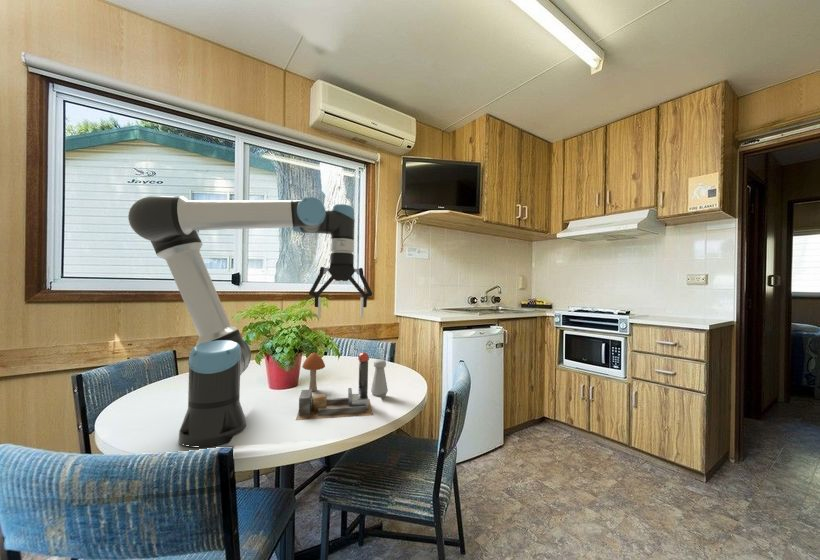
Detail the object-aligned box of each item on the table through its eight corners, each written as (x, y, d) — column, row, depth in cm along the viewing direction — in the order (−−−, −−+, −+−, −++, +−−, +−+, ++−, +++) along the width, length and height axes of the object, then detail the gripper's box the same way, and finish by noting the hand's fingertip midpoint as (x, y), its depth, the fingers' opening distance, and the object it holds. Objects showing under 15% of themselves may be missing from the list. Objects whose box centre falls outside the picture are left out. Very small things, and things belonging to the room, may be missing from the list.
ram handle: (348, 410, 102) (349, 354, 103) (347, 403, 108) (349, 351, 108) (369, 409, 104) (370, 354, 104) (367, 402, 109) (368, 350, 109)
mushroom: (316, 398, 116) (317, 355, 116) (296, 395, 119) (297, 353, 119) (328, 392, 124) (329, 350, 124) (310, 389, 126) (311, 349, 126)
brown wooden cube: (311, 412, 101) (311, 399, 101) (312, 407, 105) (312, 394, 105) (326, 411, 102) (326, 398, 102) (326, 406, 106) (326, 393, 106)
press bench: (295, 424, 95) (296, 402, 95) (300, 406, 109) (301, 387, 109) (373, 419, 100) (374, 398, 100) (369, 402, 114) (369, 384, 114)
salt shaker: (384, 400, 116) (385, 362, 116) (368, 399, 117) (369, 361, 117) (389, 395, 122) (389, 358, 122) (374, 393, 123) (374, 357, 123)
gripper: (301, 250, 105) (299, 318, 104) (381, 253, 110) (380, 318, 110) (303, 252, 112) (302, 316, 112) (378, 255, 117) (377, 316, 117)
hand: (340, 317), depth 111 cm, fingers open, 13 cm apart
